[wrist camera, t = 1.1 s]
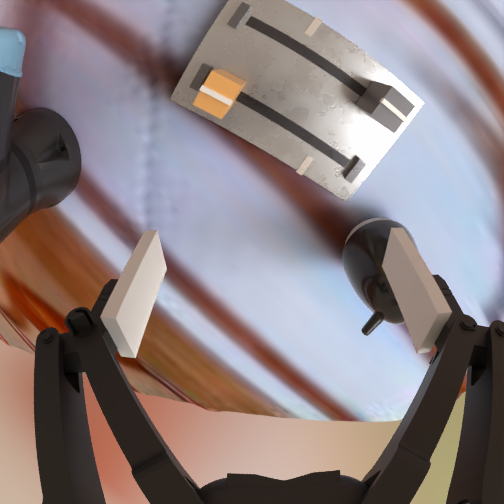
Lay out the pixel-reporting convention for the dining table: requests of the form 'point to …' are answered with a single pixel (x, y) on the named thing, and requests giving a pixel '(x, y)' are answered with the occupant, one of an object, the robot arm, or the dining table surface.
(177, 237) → the dining table surface
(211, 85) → the fader orange
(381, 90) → the fader graphite
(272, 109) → the console
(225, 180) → the dining table surface
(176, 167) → the dining table surface
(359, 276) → the pump dispenser
